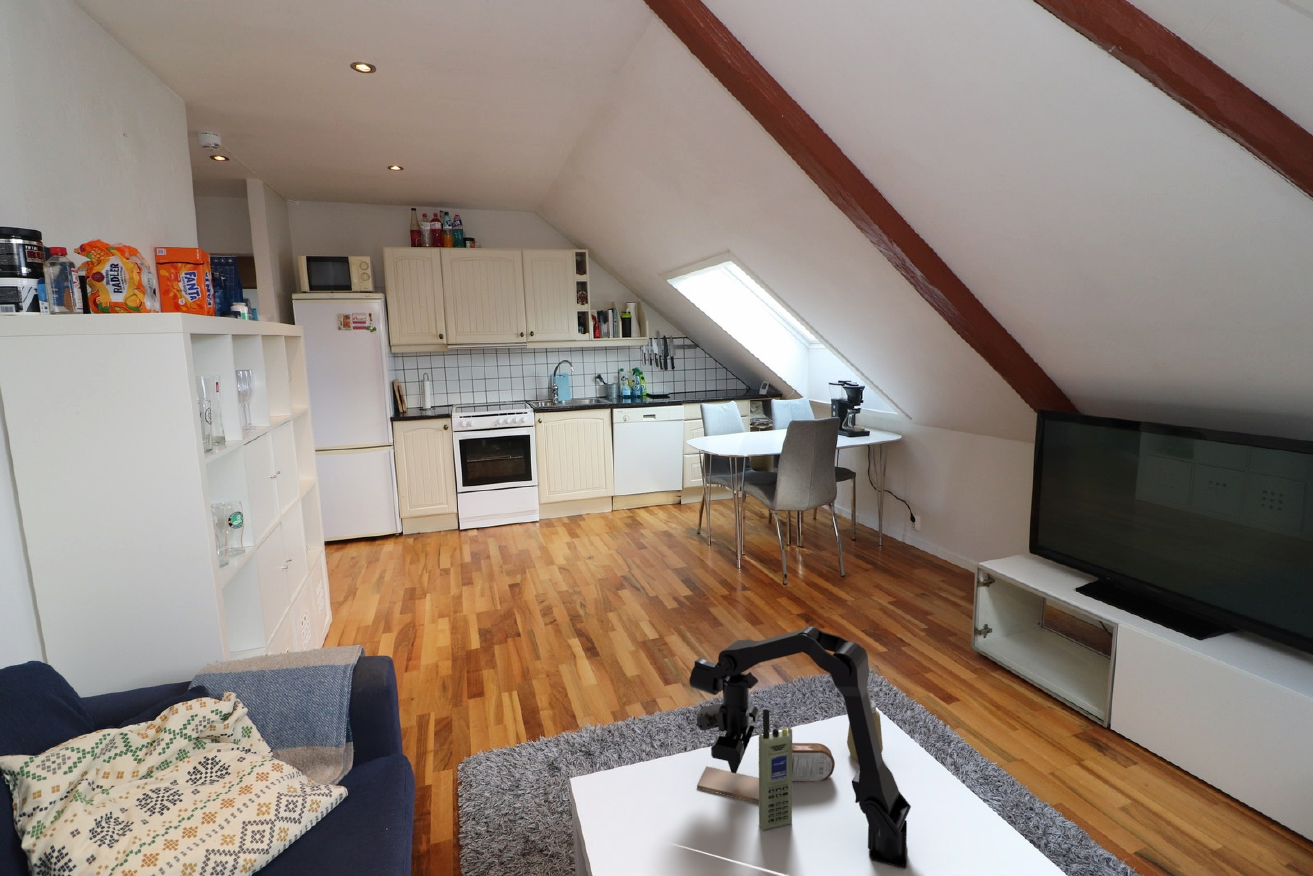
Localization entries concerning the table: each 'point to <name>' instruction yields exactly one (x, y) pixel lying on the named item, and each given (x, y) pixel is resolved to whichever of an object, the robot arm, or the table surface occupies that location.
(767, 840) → the table surface
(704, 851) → the table surface
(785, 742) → the handheld radio
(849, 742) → the squeeze bottle
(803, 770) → the tin
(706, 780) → the walnut board
